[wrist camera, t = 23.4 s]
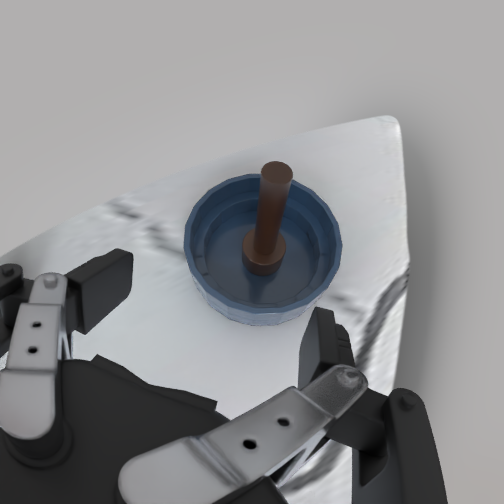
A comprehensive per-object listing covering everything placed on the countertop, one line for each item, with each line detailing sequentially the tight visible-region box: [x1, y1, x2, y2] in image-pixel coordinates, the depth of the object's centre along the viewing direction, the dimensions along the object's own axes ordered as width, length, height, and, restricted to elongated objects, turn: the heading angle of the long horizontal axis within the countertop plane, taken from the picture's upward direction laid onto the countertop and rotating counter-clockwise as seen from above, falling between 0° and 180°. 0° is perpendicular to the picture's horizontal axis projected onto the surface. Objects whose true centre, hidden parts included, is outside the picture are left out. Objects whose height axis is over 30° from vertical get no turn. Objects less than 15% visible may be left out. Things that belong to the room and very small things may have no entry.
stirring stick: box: [242, 161, 293, 276], centre depth 26 cm, size 4×4×14 cm
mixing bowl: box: [184, 174, 342, 326], centre depth 31 cm, size 15×15×6 cm
